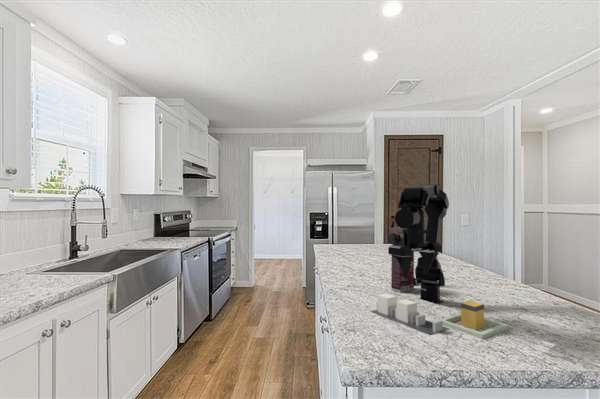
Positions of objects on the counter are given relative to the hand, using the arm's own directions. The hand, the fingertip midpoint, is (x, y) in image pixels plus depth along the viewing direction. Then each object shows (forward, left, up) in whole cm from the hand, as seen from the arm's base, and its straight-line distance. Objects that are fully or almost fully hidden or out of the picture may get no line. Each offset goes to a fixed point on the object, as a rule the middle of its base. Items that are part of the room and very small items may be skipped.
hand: (415, 275), depth 105 cm
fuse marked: (-1, +18, -11) cm, 21 cm away
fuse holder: (+10, +5, -12) cm, 16 cm away
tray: (-1, +18, -12) cm, 22 cm away
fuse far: (+10, -3, -10) cm, 15 cm away
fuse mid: (+10, +5, -10) cm, 15 cm away
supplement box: (-19, -22, -12) cm, 32 cm away
